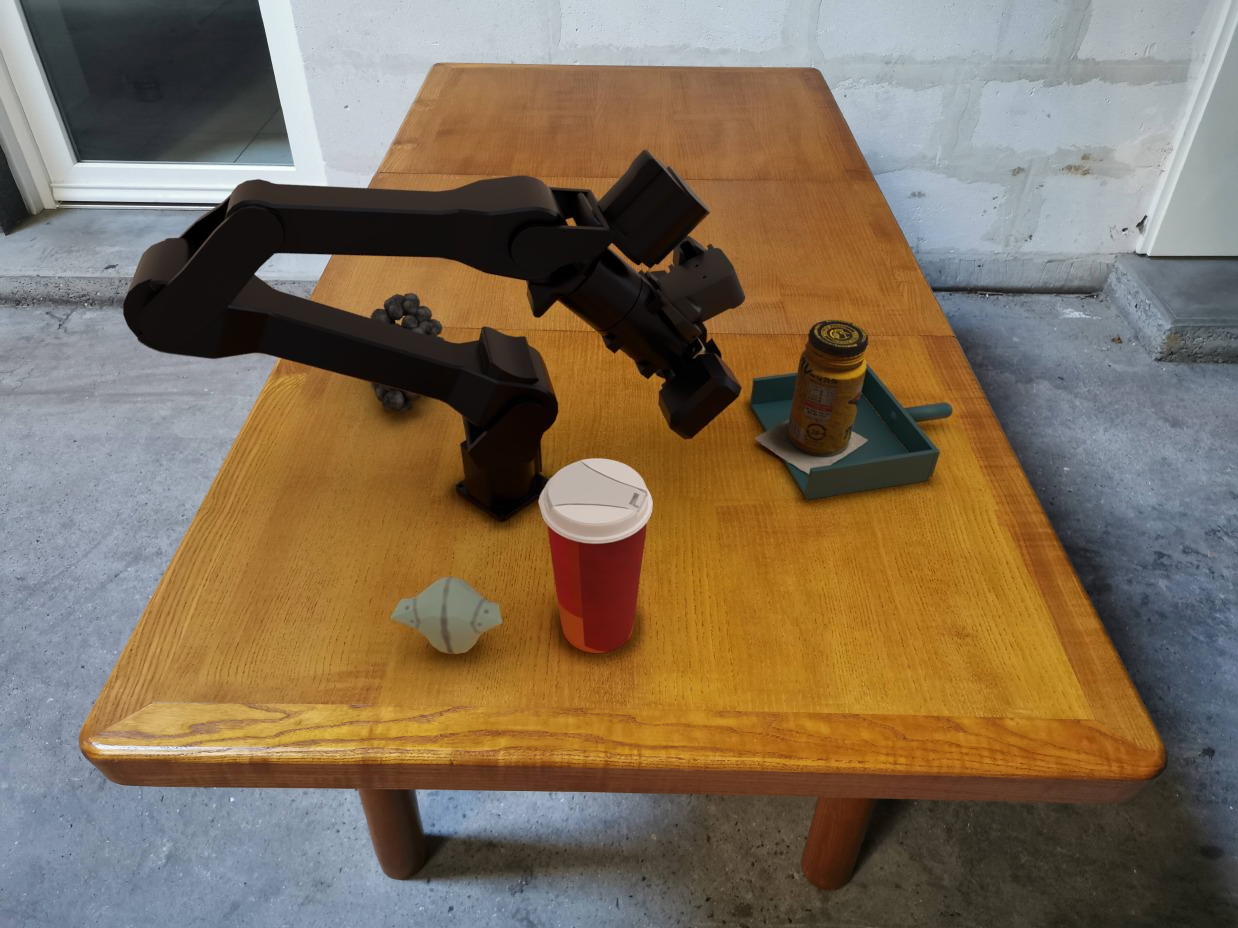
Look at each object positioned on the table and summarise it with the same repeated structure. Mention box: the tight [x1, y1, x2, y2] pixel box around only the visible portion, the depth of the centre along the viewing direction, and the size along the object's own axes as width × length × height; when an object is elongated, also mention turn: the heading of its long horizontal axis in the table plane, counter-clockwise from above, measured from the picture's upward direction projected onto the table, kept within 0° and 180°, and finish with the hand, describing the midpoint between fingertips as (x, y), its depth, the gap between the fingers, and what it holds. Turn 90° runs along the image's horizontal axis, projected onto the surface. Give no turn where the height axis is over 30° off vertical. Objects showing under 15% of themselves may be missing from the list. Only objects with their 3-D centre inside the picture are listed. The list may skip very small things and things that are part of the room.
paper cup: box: [538, 457, 654, 654], centre depth 64 cm, size 8×8×14 cm
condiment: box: [754, 319, 869, 474], centre depth 82 cm, size 7×8×12 cm
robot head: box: [390, 576, 503, 655], centre depth 64 cm, size 8×4×7 cm, turn 87°
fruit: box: [369, 292, 445, 414], centre depth 90 cm, size 9×8×15 cm
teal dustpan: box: [749, 362, 954, 501], centre depth 86 cm, size 18×15×3 cm
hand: (731, 396), depth 80 cm, fingers closed
